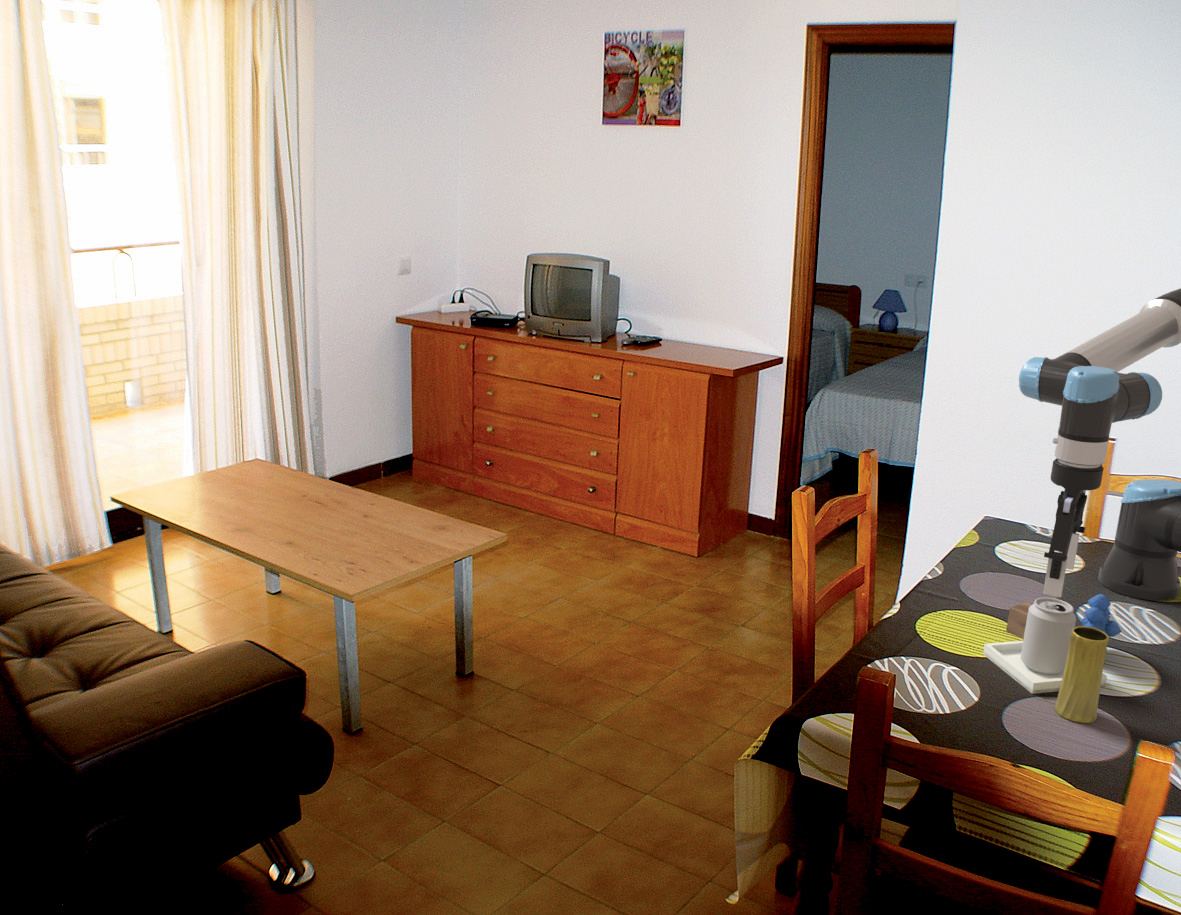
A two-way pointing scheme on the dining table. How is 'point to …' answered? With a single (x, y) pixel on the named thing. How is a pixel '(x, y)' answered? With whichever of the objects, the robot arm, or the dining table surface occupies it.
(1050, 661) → the can
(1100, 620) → the grapes
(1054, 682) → the tray
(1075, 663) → the vase
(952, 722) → the dining table surface
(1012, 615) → the walnut block
